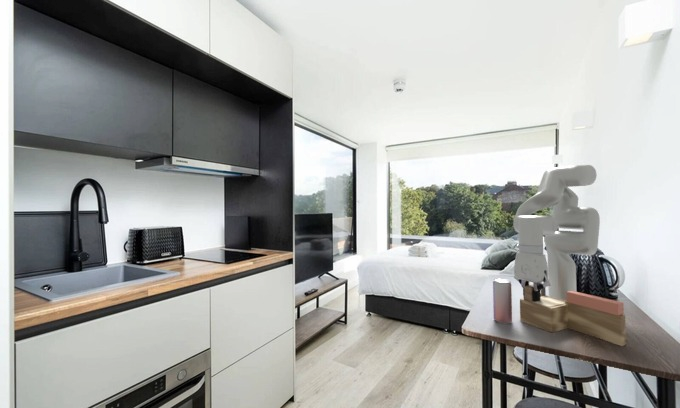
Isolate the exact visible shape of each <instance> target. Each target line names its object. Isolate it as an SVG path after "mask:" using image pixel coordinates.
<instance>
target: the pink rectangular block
mask: <svg viewBox="0 0 680 408" xmlns="http://www.w3.org/2000/svg"><path fill="white" fill-rule="evenodd" d="M567 302H569V303H573V304H577V305H580V306H584V307H588V308H592V309H595V310H599V311H603V312H607V313H610V314H614V315H618V316H619V315H622V314H623V315H625V313H624V312H625V311H624V308H625V306H624V302H623V301H622V302H621V301H618V300H614V299H610V298H606V297H600V296H596V295H592V294H587V293H584V292H583V293H582V292H578V291H576V292H575V291H568V292H567Z"/></svg>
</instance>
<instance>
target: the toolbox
mask: <svg viewBox="0 0 680 408" xmlns="http://www.w3.org/2000/svg"><path fill="white" fill-rule="evenodd" d="M546 292H547V291H546V287H544V288H543V289H542V290H540V296H546V297H550V296H549V295H547V294H546ZM550 298H554V297H550ZM554 299H557V298H554ZM557 300H561V299H557ZM561 301H565V300H561ZM519 314H520V315H519V321H520V322H523V323H525V324H528V325H531V326H533V327H536V328H538V329H542V330H544V331H547V332H549V333H554V332H558V331H562V330H565V329H566V330H567V329H570V330H574V331H577V332H579V333H583V334H585V335H588V334H589V335H588V336H591V335H592V336H591V337H594V336H595V337H594V338H597V339H599V338H600V339H599V340H602V339H603V341H606V342H608V343H611V344H615V345H618V346H620V347H623V346H626V345H627V339H626V338H627V335H626V334H627V333H626V330H627V329H626V314H622V315H619V316H618V315H614V314H610V313H607V312H603V311H599V310H595V309H592V308H588V307H584V306H580V305H577V304H573V303H569V302H567V301H565V304H563V305H559V306H555V307H547V306H544V305H540V304H537V303H534V302H530V301H527V300H524V297H523V298H519Z"/></svg>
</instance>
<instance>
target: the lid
mask: <svg viewBox="0 0 680 408" xmlns="http://www.w3.org/2000/svg"><path fill="white" fill-rule="evenodd" d="M533 290H534V285H533V284H529V285H527V286H524V295H523V298H524V300H527V301H530V302H534V301H533V299H532V291H533ZM546 296H547V295H546ZM546 296H540V301H537V302H534V303H537V304H540V305H544V306H547V307H555V306H559V305H563V304H565V301H561V300H557V299H554V298H550V297H546Z"/></svg>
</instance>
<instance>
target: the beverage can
mask: <svg viewBox="0 0 680 408" xmlns="http://www.w3.org/2000/svg"><path fill="white" fill-rule="evenodd" d="M492 289H493V290H492V296H493V297H492V298H493V299H492V300H493V304H492V305H493V320H494V321H495V322H497V323H499V324H506V325H510V324H511V323H512V322H513V301H512V300H513V298H512V297H513V295H512V282H511V280H509V279H505V278H494V279H493V281H492Z"/></svg>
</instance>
